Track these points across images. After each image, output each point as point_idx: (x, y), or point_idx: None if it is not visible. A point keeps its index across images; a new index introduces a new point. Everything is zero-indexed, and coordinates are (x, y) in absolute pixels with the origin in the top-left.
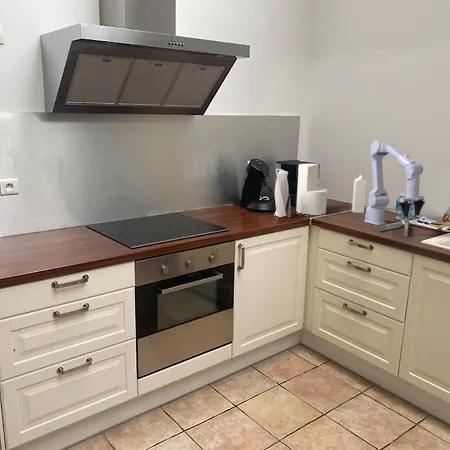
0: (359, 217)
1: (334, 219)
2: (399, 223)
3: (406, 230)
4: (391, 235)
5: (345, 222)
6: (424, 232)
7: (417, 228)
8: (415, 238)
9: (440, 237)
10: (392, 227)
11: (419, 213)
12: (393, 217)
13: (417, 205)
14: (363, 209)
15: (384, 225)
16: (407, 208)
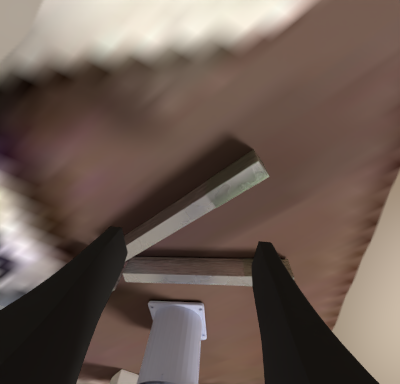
0: None
1: (258, 372)
2: (146, 271)
3: (244, 179)
4: (300, 203)
5: (262, 352)
6: (94, 158)
7: (78, 217)
8: (249, 97)
9: (73, 23)
10: (196, 262)
11: (101, 238)
12: None
13: (64, 346)
14: (119, 382)
15: (248, 280)
16: (336, 338)
